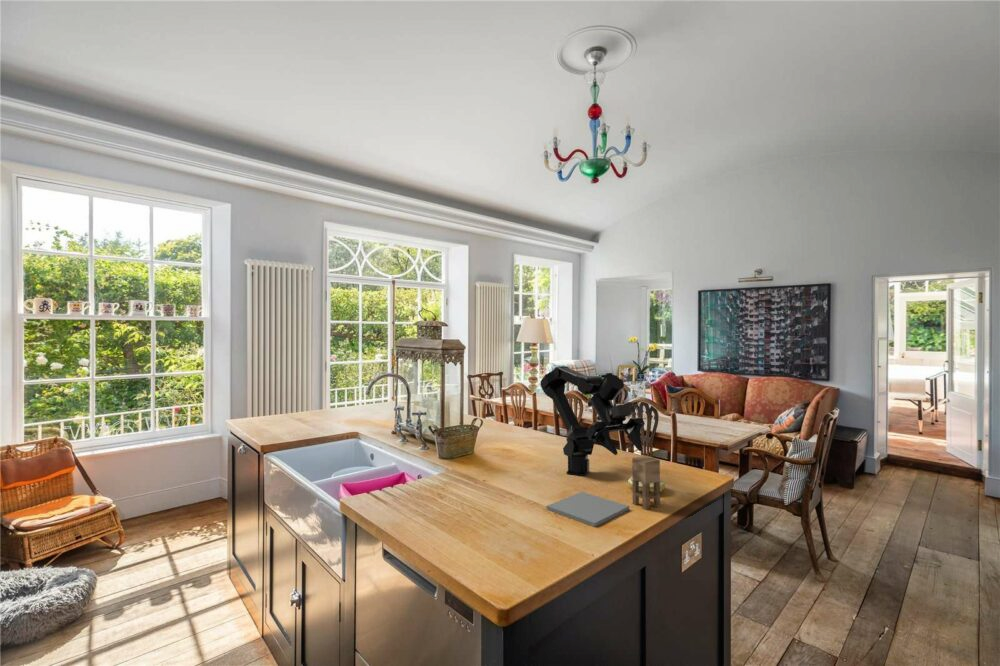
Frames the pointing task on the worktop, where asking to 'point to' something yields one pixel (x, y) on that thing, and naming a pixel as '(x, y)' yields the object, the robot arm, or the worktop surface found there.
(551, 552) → the worktop surface
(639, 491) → the stool
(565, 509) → the mat
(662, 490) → the decorated donut
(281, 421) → the worktop surface
